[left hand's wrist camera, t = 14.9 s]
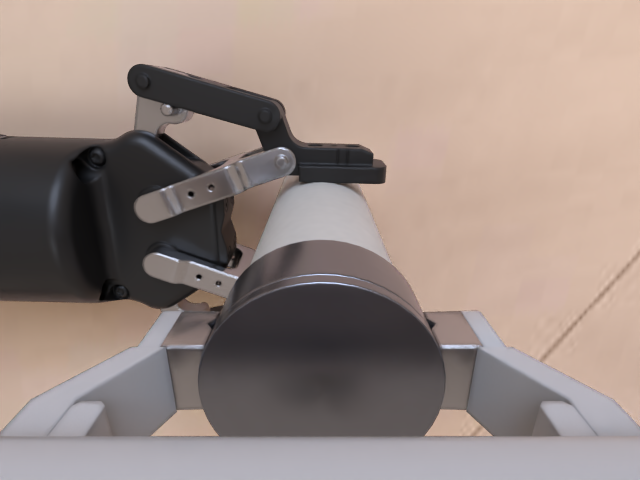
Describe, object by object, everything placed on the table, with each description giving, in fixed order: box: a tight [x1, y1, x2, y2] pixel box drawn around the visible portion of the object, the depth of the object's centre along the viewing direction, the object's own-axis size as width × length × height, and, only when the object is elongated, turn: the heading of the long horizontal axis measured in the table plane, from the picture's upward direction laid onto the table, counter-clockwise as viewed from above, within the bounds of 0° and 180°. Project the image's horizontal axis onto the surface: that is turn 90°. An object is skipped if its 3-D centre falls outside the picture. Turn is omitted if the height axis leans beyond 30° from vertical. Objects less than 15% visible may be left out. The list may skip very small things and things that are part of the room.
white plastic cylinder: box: [250, 175, 392, 265], centre depth 17 cm, size 5×5×17 cm
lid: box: [198, 240, 446, 436], centre depth 9 cm, size 5×5×2 cm
